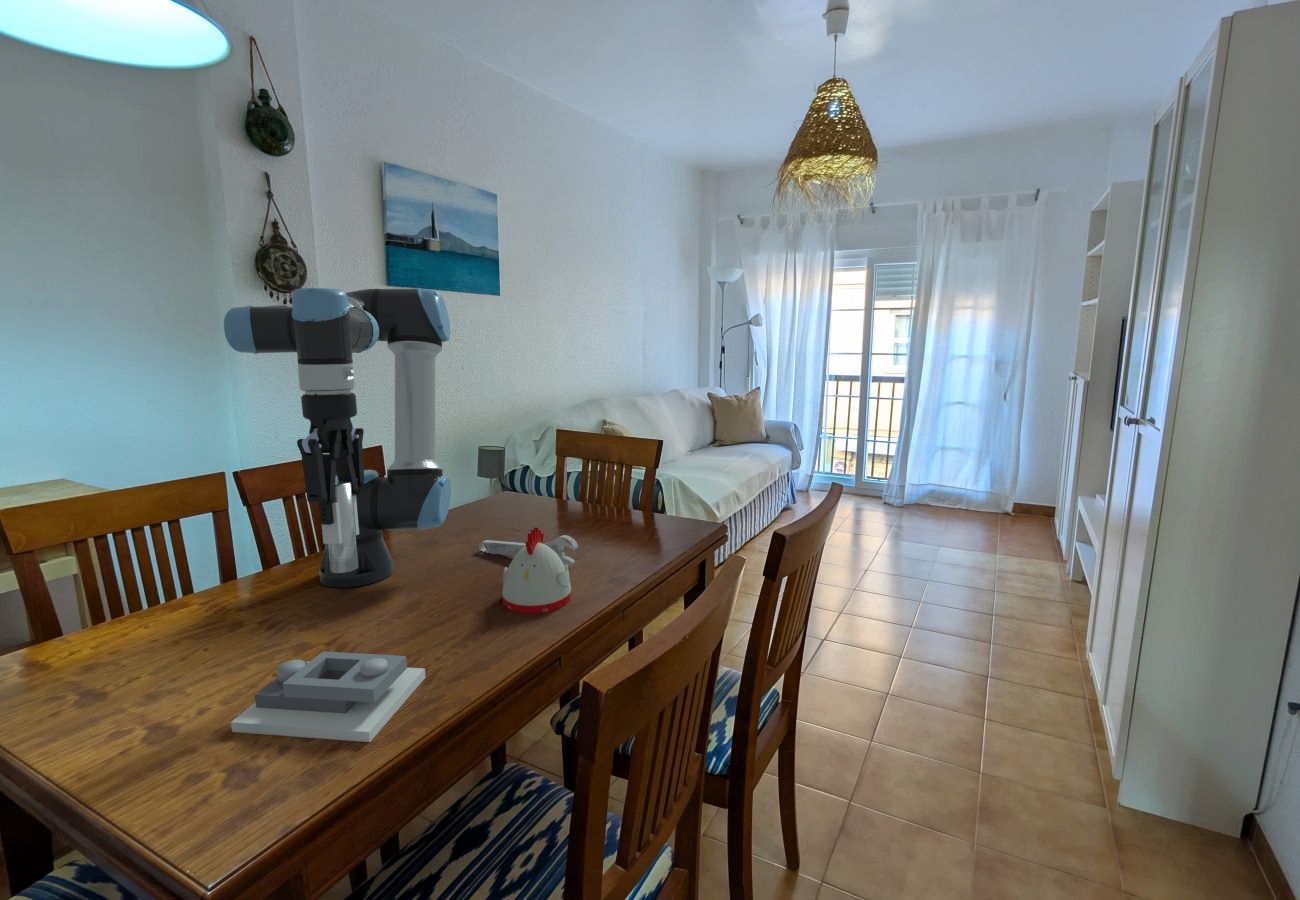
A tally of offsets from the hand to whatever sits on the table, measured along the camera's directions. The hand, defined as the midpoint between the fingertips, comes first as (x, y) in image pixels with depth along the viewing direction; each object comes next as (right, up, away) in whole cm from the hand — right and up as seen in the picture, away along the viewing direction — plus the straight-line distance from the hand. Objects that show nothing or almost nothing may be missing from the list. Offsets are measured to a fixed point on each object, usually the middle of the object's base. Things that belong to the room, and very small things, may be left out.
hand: (341, 538), depth 100 cm
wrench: (+20, -13, +49) cm, 55 cm away
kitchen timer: (+26, -17, +28) cm, 42 cm away
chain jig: (+3, -23, -8) cm, 25 cm away
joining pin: (0, -5, +1) cm, 5 cm away
